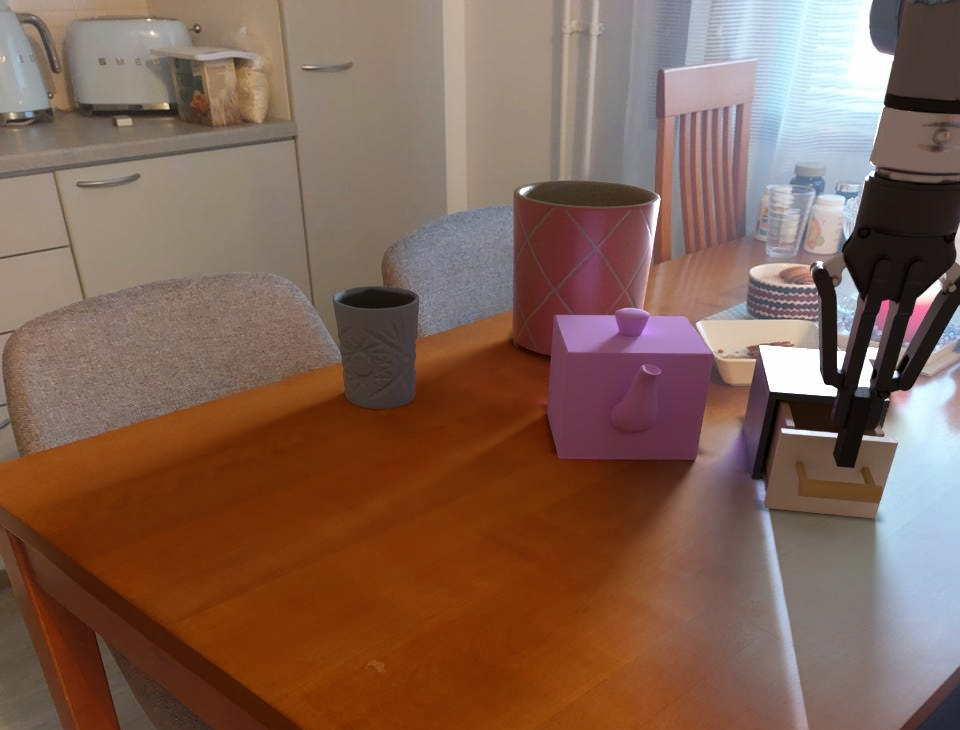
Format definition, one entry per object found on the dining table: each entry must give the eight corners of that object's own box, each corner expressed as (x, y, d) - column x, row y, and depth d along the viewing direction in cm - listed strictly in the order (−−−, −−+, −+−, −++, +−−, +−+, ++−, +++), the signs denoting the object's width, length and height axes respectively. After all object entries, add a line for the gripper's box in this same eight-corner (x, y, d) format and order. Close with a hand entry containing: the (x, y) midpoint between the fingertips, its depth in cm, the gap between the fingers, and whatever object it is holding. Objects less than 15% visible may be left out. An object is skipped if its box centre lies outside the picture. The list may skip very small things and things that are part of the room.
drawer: (886, 548, 84) (911, 470, 80) (769, 536, 86) (788, 458, 81) (853, 460, 100) (872, 390, 95) (755, 452, 101) (769, 382, 97)
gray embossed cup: (353, 415, 109) (347, 312, 102) (328, 386, 117) (321, 288, 110) (433, 404, 113) (432, 303, 106) (404, 377, 120) (401, 281, 113)
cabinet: (864, 489, 96) (890, 401, 91) (751, 479, 98) (769, 391, 92) (843, 434, 108) (865, 353, 102) (742, 426, 109) (758, 345, 104)
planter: (480, 345, 131) (483, 191, 119) (561, 317, 143) (571, 175, 131) (589, 379, 121) (604, 214, 109) (666, 345, 133) (688, 194, 121)
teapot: (566, 488, 95) (577, 353, 87) (543, 398, 115) (551, 281, 107) (711, 489, 95) (737, 354, 87) (663, 399, 116) (680, 283, 107)
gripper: (837, 178, 68) (773, 472, 81) (1025, 186, 66) (927, 485, 80) (824, 161, 74) (766, 438, 87) (996, 168, 72) (910, 450, 86)
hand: (843, 460), depth 84 cm, fingers closed
